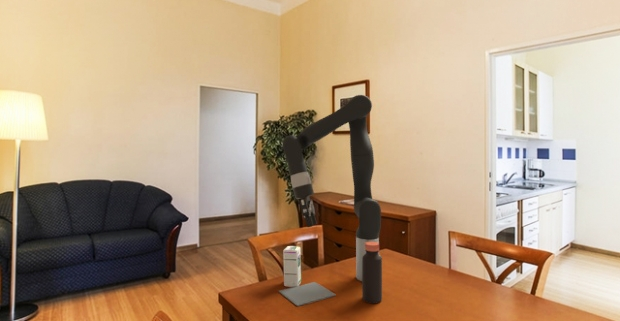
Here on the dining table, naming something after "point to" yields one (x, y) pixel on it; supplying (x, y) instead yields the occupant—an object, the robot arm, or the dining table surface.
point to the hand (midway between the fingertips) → (312, 225)
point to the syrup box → (292, 266)
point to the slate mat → (306, 293)
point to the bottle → (372, 273)
